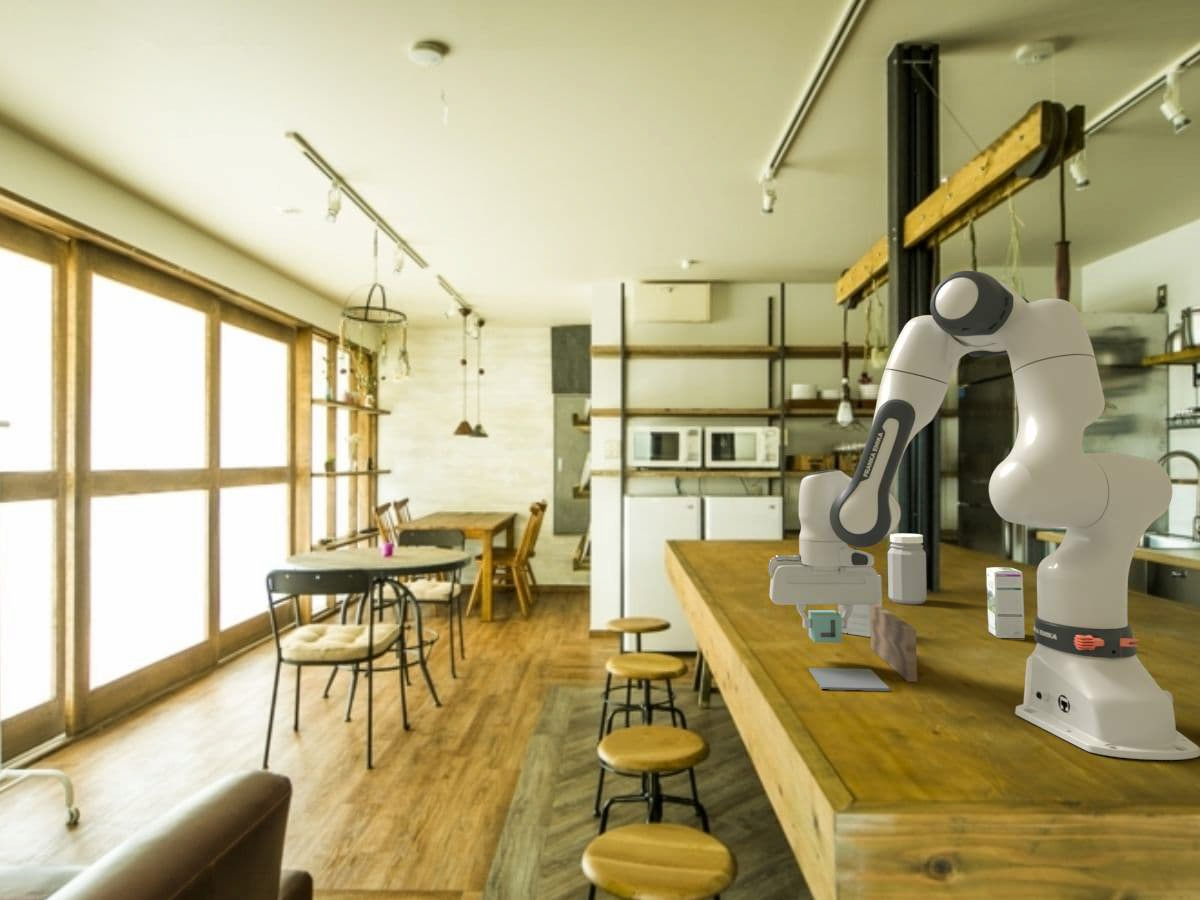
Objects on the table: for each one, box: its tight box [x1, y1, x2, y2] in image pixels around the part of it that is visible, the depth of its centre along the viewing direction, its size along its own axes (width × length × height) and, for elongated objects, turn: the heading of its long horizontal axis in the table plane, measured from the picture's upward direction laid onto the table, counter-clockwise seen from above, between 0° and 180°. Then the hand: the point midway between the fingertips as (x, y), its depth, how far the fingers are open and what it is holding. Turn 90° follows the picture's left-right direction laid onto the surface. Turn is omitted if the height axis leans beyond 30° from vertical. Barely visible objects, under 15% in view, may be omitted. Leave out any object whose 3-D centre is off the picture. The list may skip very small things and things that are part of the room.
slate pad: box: [807, 667, 891, 692], centre depth 123 cm, size 11×11×1 cm
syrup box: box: [985, 566, 1026, 639], centre depth 154 cm, size 6×6×14 cm
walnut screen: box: [870, 604, 918, 683], centre depth 133 cm, size 22×2×9 cm, turn 175°
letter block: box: [807, 609, 843, 644], centre depth 135 cm, size 5×5×5 cm
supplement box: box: [837, 574, 883, 638], centre depth 158 cm, size 7×7×13 cm
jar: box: [887, 532, 928, 605], centre depth 192 cm, size 10×10×18 cm
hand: (824, 627), depth 135 cm, fingers closed on letter block, 5 cm apart
